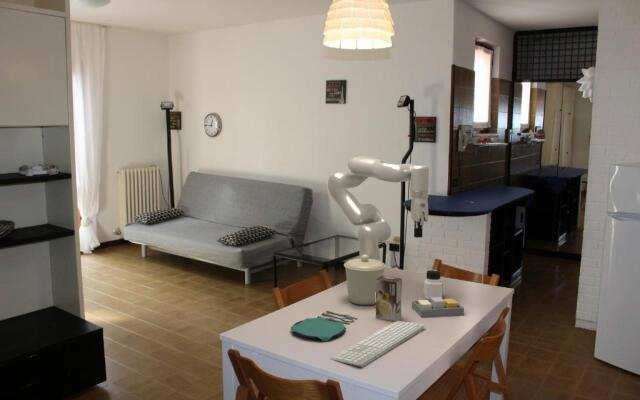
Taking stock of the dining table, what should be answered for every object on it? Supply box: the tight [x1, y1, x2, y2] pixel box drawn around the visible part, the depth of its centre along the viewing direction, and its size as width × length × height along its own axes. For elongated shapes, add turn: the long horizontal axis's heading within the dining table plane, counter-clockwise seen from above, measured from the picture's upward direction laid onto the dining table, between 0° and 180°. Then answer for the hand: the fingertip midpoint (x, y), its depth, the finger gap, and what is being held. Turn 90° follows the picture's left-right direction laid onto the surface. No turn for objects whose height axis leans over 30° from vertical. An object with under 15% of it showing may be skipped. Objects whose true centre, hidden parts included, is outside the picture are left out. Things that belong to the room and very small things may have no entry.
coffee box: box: [375, 275, 403, 322], centre depth 223 cm, size 9×6×16 cm
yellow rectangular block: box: [442, 298, 459, 308], centre depth 231 cm, size 4×6×3 cm
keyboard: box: [329, 320, 425, 368], centre depth 198 cm, size 44×12×2 cm, turn 142°
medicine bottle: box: [423, 269, 444, 300], centre depth 249 cm, size 7×7×12 cm
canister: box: [343, 254, 387, 306], centre depth 242 cm, size 18×18×21 cm
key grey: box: [430, 297, 445, 309], centre depth 230 cm, size 4×6×3 cm
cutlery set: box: [290, 310, 359, 342], centre depth 213 cm, size 20×30×2 cm, turn 148°
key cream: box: [417, 299, 432, 309], centre depth 230 cm, size 4×6×3 cm
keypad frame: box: [411, 299, 465, 318], centre depth 231 cm, size 18×12×3 cm, turn 99°
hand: (418, 237), depth 238 cm, fingers closed
